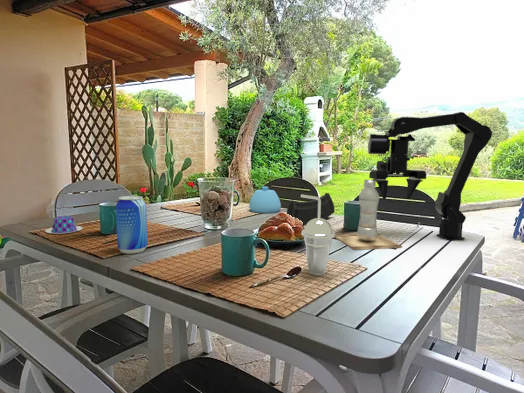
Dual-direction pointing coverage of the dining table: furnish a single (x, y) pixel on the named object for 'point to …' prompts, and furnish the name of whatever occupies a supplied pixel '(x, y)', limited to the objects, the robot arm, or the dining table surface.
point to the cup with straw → (317, 241)
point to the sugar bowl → (265, 201)
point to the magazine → (311, 209)
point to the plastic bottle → (368, 211)
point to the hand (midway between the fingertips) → (396, 199)
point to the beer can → (131, 224)
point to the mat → (366, 242)
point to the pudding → (63, 225)
